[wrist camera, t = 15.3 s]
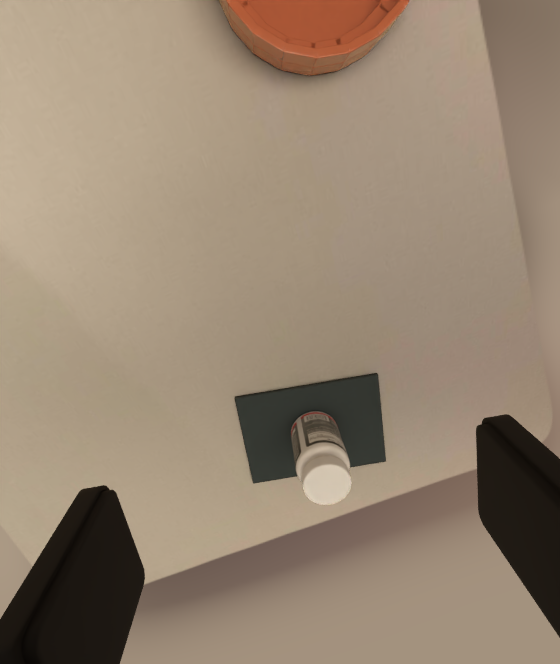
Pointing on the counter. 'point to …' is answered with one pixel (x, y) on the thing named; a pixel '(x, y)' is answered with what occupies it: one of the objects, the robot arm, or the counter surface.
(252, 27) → the bowl
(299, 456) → the pill bottle
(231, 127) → the counter surface
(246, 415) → the mat
